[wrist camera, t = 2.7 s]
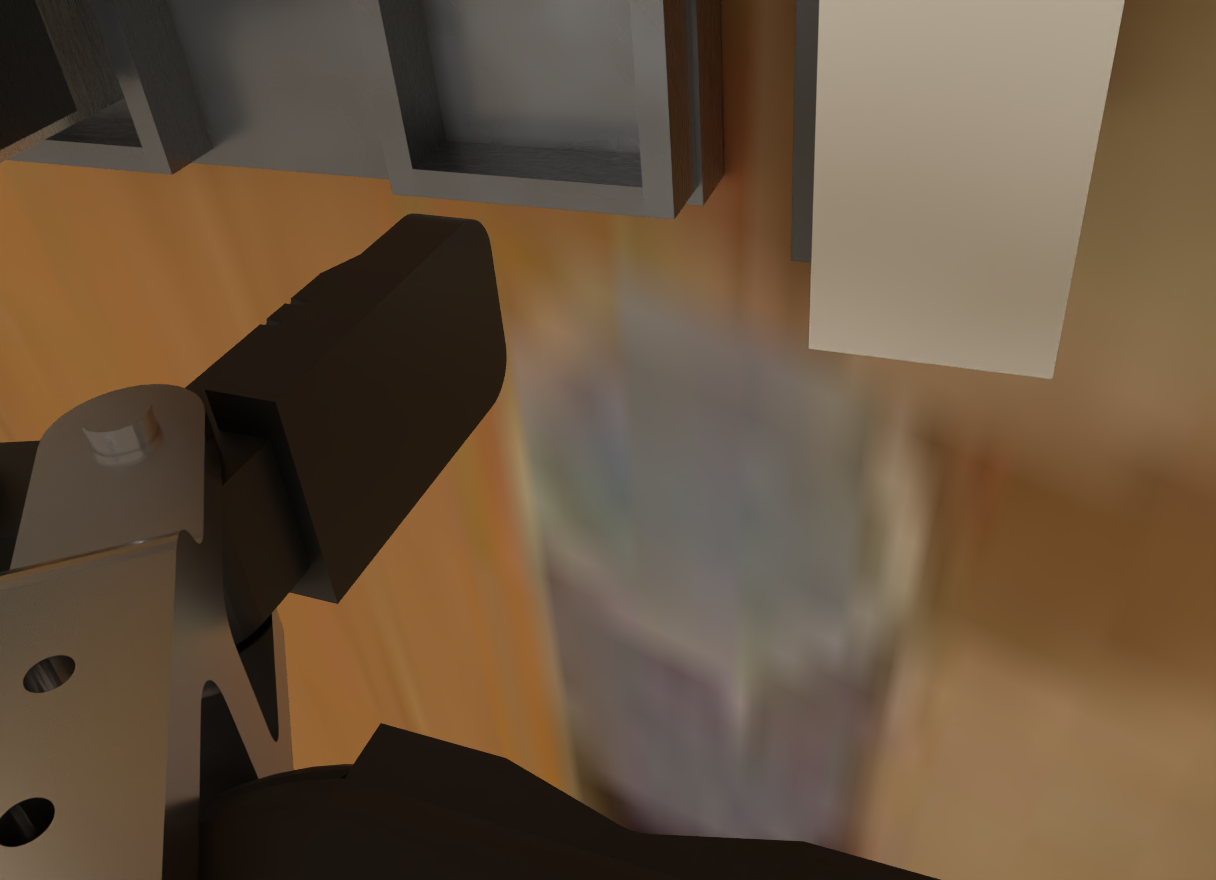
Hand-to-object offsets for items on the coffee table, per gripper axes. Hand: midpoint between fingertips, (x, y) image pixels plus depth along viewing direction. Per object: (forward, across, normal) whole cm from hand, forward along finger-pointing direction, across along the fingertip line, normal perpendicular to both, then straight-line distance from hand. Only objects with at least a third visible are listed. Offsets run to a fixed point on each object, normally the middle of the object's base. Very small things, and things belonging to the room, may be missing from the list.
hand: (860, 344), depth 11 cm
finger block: (+12, 0, 0) cm, 12 cm away
